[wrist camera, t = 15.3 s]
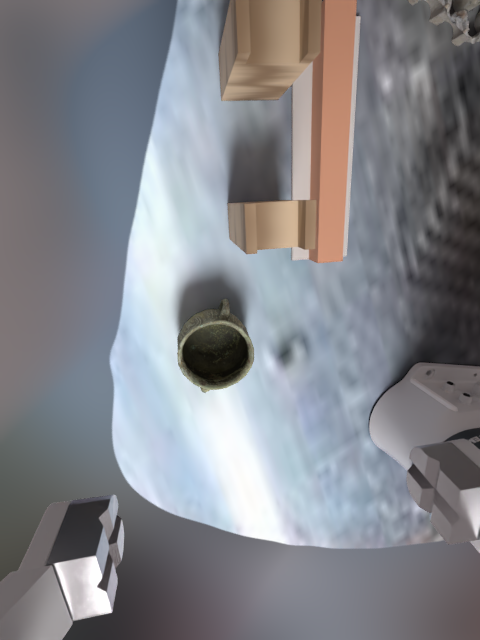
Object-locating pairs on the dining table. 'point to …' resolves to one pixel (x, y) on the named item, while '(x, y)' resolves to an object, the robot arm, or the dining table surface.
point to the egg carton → (455, 18)
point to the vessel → (214, 349)
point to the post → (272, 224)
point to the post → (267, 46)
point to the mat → (303, 140)
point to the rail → (331, 127)
